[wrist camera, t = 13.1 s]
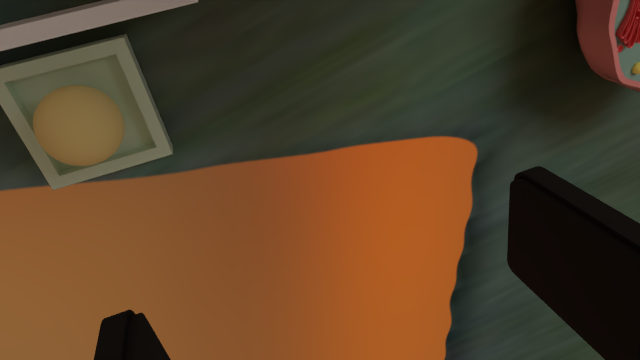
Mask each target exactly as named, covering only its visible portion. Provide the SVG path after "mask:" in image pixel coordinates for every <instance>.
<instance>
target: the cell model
mask: <svg viewBox="0 0 640 360" xmlns="http://www.w3.org/2000/svg"><path fill="white" fill-rule="evenodd" d="M575 5H576V11H577V37H578V41H579V45H580V48H581V51H582V53H583V55H584V57H585V59H586V61H587V63H588V65H589V67H590V68H591V70H592V71H593V72H594V73H596V74H597V75H598V76H600V77H602V78H604V79H606V80H609V81H612V82H615V83H617V84H620V85H622V86H624V87H627V88H629V89H632V90H635V91H637V92H640V0H575Z"/></svg>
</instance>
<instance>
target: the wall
mask: <svg viewBox="0 0 640 360" xmlns="http://www.w3.org/2000/svg"><path fill="white" fill-rule="evenodd" d="M197 2H198V0H102V1H98V2H94V3H90V4H86V5H81V6H77V7H73V8H69V9H65V10H61V11H56V12H52V13H48V14H44V15H40V16H36V17H31V18H27V19H23V20H19V21H15V22H10V23H6V24H2V25H0V51H3V50H7V49H11V48H15V47H19V46H23V45H28V44H32V43H36V42H40V41H44V40H48V39H52V38H56V37H60V36H64V35H68V34H72V33H76V32H80V31H84V30H88V29H92V28H96V27H100V26H104V25H108V24H112V23H116V22H120V21H124V20H128V19H132V18H136V17H140V16H144V15H148V14H152V13H156V12H160V11H164V10H168V9H173V8H177V7H181V6H185V5H189V4H193V3H197Z"/></svg>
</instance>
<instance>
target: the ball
mask: <svg viewBox="0 0 640 360" xmlns="http://www.w3.org/2000/svg"><path fill="white" fill-rule="evenodd" d="M33 129H34V134H35V136H36V139H37V141H38V143H39V144H40V146H41V147H42V148H43V149H44V150H45V151H46V152H47V153H48V154H49V155H50V156H52V157H53V158H55V159H56V160H58V161H60V162H63V163H66V164H69V165H75V166H88V165H94V164H97V163H100V162H102V161H104V160H106V159H108V158H109V157H110V156H112V155H113V154H114V153H115V152H116V151H117V149H118V148H119V146H120V145H121V143H122V140H123V137H124V132H125V124H124V119H123V115H122V113H121V111H120V109H119V107H118V106H117V105H116V103H115V102H114V101H113V100H112V99H111V98H110V97H109V96H107V95H106V94H105V93H103V92H101V91H99V90H97V89H95V88H91V87H88V86H82V85H70V86H64V87H61V88H58V89H56V90H54V91H52V92H50V93H49V94H47V95H46V96H45V97H44V98H43V99H42V100H41V101H40V103H39V104H38V106H37V108H36V110H35V113H34V117H33Z"/></svg>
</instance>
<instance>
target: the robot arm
mask: <svg viewBox="0 0 640 360" xmlns="http://www.w3.org/2000/svg"><path fill="white" fill-rule="evenodd" d="M507 262H508V265H509V267H510V269H511V270H512V272H513V273H514V274H515V275H516V276H517V277H518V278H519V279H520V280H521V281H522V282H524V283H525V284H526V285H527V286H528V287H529V288H530V289H531V290H532V291H533V292H534V293H535V294H536V295H537V296H538V297H539V298H540V299H542V300H543V301H544V302H545V303H546V304H547V305H548V306H549V307H550V308H551V309H552V310H553V311H554V312H555V313H556V314H557V315H558V316H559V317H561V318H562V319H563V320H564V321H565V322H566V323H567V324H568V325H569V326H570V327H571V328H572V329H573V330H574V331H575V332H576V333H577V334H579V335H580V336H581V337H582V338H583V339H584V340H585V341H586V342H587V343H588V344H589V345H590V346H591V347H592V348H593V349H594V350H595V351H597V352H598V353H599V354H600V355H601V356H602V357H603V358H604V359H605V360H640V224H639V223H638V222H636V221H634V220H633V219H631V218H629V217H627V216H626V215H624V214H622V213H621V212H619V211H617V210H615V209H614V208H612V207H610V206H609V205H607V204H605V203H603V202H602V201H600V200H598V199H597V198H595V197H593V196H591V195H590V194H588V193H586V192H584V191H583V190H581V189H579V188H578V187H576V186H574V185H572V184H571V183H569V182H567V181H566V180H564V179H562V178H560V177H559V176H557V175H555V174H554V173H552V172H550V171H548V170H547V169H545V168H543V167H540V166H538V167H534V168H531V169H528V170H525V171H523V172H520V173H518V174H516V175H515V177H514V181H512V182H511V184H510V200H509V226H508V252H507ZM94 360H170V358H169V356H168V355H167V353H166V351H165V349H164V348H163V346H162V344H161V343H160V341H159V339H158V338H157V336H156V334H155V332H154V331H153V329H152V327H151V326H150V324H149V322H148V320H147V319H146V317H145V315H144V314H143V313H138V314H135V313H134V312H133V311H132V310H127V311H125V312H121V313H119V314H116V315H113V316H110V317H107V318H104V319H103V321H102V323H101V326H100V331H99V336H98V342H97V346H96V351H95V356H94Z"/></svg>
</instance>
